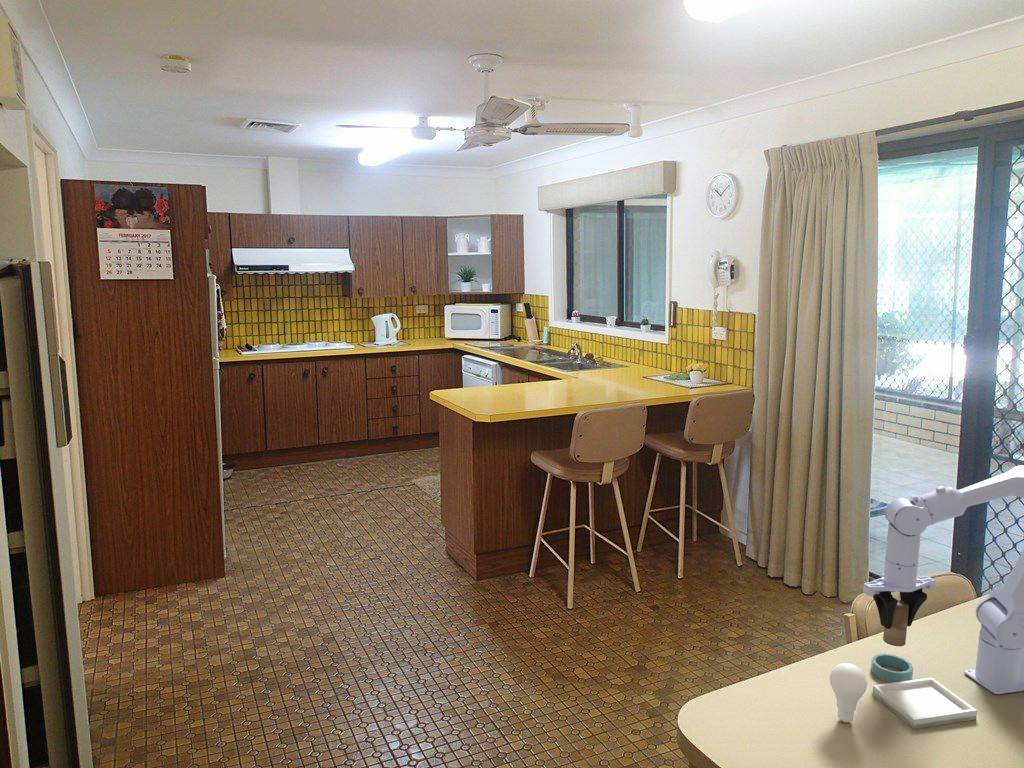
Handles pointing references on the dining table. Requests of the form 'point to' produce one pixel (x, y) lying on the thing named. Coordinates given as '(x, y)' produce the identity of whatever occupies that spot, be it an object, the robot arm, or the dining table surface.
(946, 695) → the tray
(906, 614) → the dowel
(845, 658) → the dining table surface
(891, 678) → the teal ring
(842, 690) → the lightbulb
